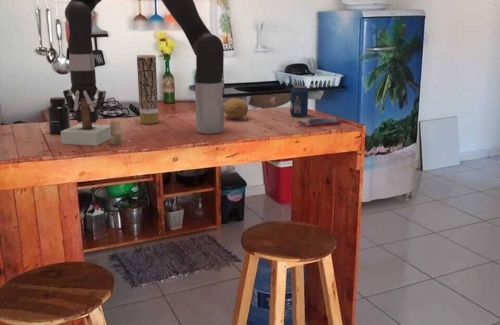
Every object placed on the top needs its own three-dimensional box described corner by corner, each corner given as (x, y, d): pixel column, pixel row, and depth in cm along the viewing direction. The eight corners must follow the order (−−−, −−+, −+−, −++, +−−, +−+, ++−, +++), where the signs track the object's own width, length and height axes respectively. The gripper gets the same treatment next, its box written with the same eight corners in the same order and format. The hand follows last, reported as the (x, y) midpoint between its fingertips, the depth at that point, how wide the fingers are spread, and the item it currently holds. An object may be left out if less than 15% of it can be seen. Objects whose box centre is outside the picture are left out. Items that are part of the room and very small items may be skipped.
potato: (242, 114, 215) (242, 95, 213) (252, 121, 202) (253, 100, 200) (219, 116, 212) (218, 96, 210) (228, 122, 199) (228, 101, 197)
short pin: (122, 143, 167) (121, 121, 165) (118, 145, 164) (117, 123, 162) (114, 142, 167) (112, 121, 165) (109, 144, 164) (108, 122, 163)
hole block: (113, 137, 175) (112, 125, 174) (97, 145, 164) (96, 133, 162) (80, 135, 177) (79, 123, 176) (61, 143, 166) (60, 131, 165)
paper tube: (154, 125, 194) (151, 56, 187) (137, 124, 195) (133, 55, 189) (161, 121, 201) (158, 54, 194) (144, 120, 202) (141, 54, 195)
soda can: (303, 114, 216) (304, 85, 213) (309, 117, 210) (311, 87, 207) (287, 115, 215) (288, 85, 211) (293, 118, 208) (294, 88, 205)
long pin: (94, 139, 171) (91, 97, 168) (90, 141, 169) (87, 98, 165) (86, 139, 172) (83, 96, 168) (81, 141, 169) (78, 98, 165)
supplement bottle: (51, 135, 177) (47, 100, 174) (48, 131, 183) (45, 97, 180) (72, 133, 180) (69, 98, 177) (69, 129, 186) (66, 95, 183)
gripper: (109, 67, 166) (112, 120, 171) (67, 66, 169) (72, 119, 173) (98, 70, 159) (102, 125, 164) (55, 69, 162) (60, 123, 166)
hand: (86, 122), depth 169 cm, fingers open, 4 cm apart
